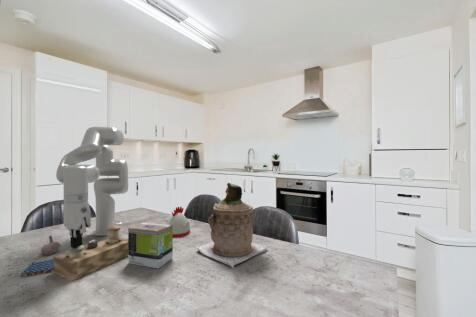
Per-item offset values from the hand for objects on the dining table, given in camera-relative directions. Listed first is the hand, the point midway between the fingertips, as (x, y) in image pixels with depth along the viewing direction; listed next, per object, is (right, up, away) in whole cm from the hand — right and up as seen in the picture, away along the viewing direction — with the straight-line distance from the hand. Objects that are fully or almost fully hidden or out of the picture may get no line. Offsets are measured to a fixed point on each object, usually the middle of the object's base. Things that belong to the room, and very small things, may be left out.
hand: (76, 246), depth 84 cm
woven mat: (-14, -10, +2) cm, 18 cm away
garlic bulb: (-24, -10, +17) cm, 31 cm away
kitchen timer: (+27, -10, +43) cm, 51 cm away
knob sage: (0, -8, 0) cm, 8 cm away
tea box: (+25, -10, +8) cm, 28 cm away
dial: (+1, -3, +8) cm, 8 cm away
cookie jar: (+59, -10, +18) cm, 62 cm away
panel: (+3, -9, +6) cm, 12 cm away
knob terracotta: (+7, -5, +13) cm, 16 cm away
